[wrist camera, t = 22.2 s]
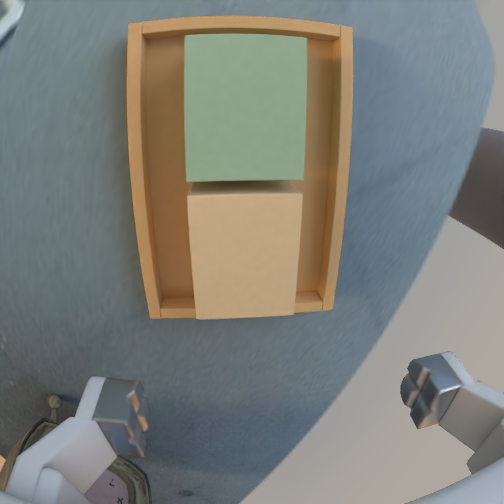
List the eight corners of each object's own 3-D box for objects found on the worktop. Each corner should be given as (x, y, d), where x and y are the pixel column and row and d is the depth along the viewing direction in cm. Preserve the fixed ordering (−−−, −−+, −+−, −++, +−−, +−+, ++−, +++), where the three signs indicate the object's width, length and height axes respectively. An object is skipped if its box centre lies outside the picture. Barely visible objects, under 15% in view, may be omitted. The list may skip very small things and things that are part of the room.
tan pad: (284, 176, 19) (303, 193, 15) (280, 277, 22) (294, 315, 18) (193, 177, 19) (186, 196, 14) (199, 281, 21) (196, 320, 17)
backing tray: (341, 34, 16) (353, 27, 14) (324, 295, 24) (332, 310, 22) (136, 31, 15) (128, 23, 13) (154, 303, 22) (150, 318, 21)
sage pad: (287, 54, 16) (307, 37, 12) (285, 166, 19) (303, 180, 15) (192, 53, 15) (184, 34, 11) (193, 167, 18) (185, 182, 14)
